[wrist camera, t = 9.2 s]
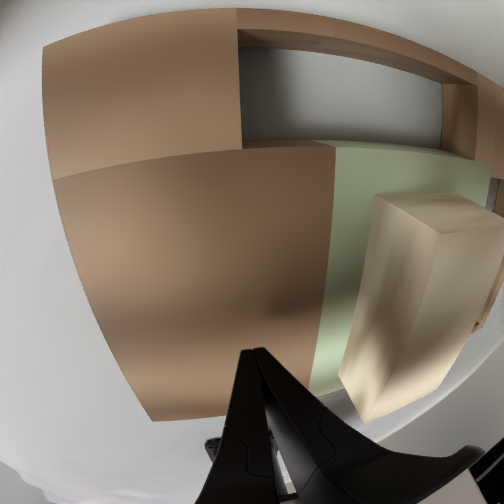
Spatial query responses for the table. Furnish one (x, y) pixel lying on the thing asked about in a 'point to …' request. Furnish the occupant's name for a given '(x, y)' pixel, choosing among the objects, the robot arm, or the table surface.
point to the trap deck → (234, 196)
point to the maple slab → (417, 296)
